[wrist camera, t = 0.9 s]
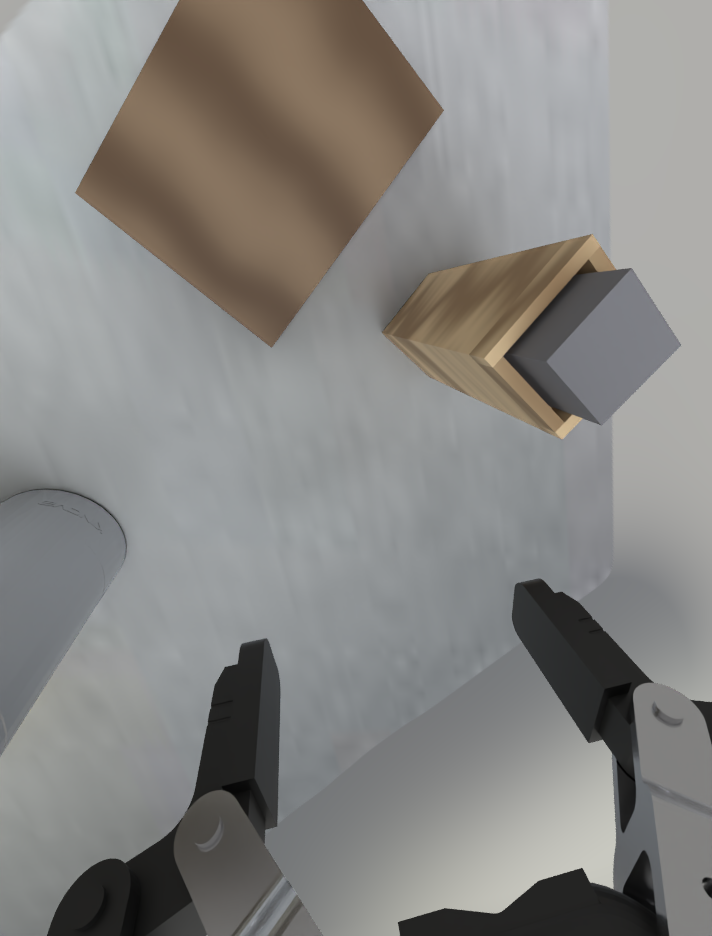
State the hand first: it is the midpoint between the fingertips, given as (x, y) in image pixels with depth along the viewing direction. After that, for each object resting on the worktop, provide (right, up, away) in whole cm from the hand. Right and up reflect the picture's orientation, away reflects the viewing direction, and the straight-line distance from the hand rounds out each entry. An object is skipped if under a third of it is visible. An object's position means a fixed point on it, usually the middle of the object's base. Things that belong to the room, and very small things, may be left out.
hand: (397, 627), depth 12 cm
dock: (-6, +23, +10) cm, 26 cm away
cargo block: (+6, +10, +3) cm, 12 cm away
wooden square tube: (+4, +15, +15) cm, 22 cm away
